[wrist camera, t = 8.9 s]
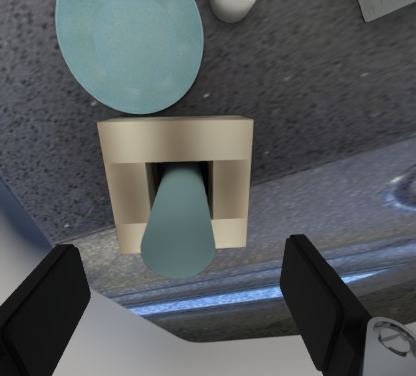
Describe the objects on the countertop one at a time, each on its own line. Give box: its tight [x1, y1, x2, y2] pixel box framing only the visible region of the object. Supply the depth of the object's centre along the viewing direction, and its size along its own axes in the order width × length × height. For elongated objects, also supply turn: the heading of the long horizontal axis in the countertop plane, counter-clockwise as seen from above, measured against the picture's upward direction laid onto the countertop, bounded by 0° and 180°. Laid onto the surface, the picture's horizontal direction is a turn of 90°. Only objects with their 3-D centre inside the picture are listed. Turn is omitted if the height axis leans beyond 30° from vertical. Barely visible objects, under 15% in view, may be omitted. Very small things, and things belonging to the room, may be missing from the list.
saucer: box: [55, 0, 204, 114], centre depth 19 cm, size 12×12×2 cm
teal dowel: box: [140, 161, 216, 279], centre depth 19 cm, size 4×4×14 cm
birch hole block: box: [97, 115, 254, 254], centre depth 22 cm, size 12×12×6 cm
